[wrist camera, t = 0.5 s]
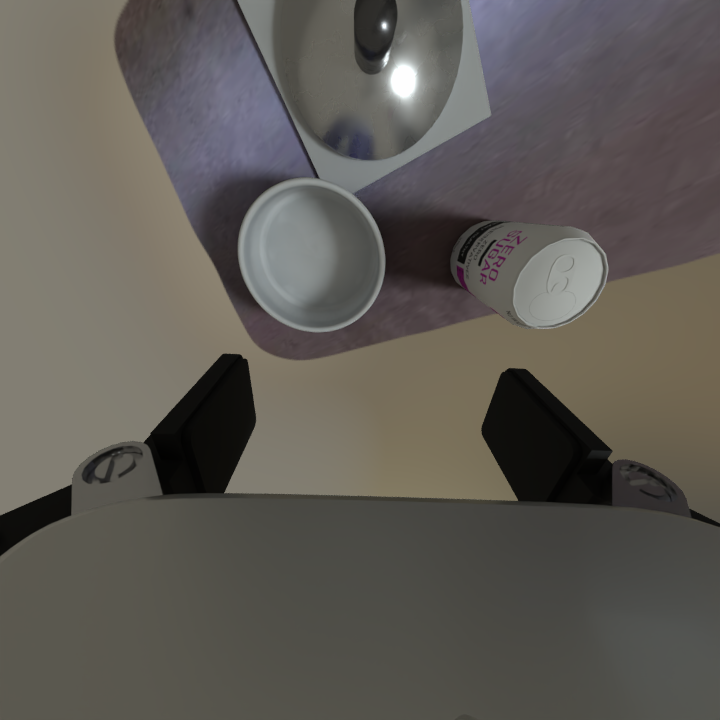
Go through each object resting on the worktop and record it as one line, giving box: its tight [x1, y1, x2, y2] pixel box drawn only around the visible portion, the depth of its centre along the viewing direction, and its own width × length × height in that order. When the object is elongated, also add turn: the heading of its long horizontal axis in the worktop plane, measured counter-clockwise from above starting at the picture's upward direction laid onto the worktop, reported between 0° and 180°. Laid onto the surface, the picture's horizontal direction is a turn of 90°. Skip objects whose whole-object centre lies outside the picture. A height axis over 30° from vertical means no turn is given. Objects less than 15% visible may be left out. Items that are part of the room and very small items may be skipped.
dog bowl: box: [238, 177, 385, 332], centre depth 31 cm, size 15×15×6 cm
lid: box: [281, 0, 463, 162], centre depth 23 cm, size 16×16×6 cm
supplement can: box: [450, 220, 608, 329], centre depth 28 cm, size 8×8×15 cm
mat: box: [237, 0, 491, 194], centre depth 26 cm, size 18×18×1 cm
